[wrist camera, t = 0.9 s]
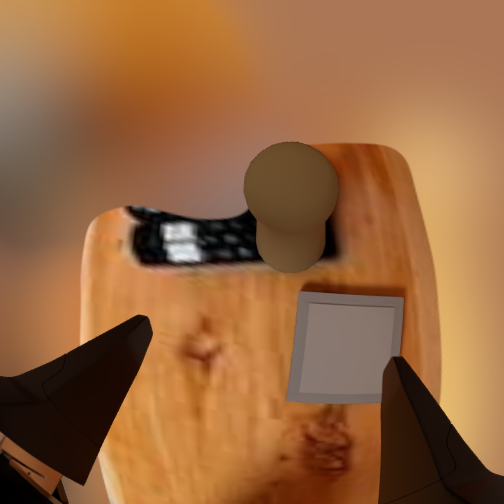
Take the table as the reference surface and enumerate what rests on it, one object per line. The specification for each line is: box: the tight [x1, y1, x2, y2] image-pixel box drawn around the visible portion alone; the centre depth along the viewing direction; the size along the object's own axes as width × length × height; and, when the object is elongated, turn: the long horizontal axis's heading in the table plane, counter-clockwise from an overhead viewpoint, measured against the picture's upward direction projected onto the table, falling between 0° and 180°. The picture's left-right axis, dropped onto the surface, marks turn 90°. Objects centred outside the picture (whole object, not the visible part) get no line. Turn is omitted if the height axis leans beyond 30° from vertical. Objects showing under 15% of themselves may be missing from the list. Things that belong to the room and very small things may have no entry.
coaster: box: [286, 291, 404, 404], centre depth 20 cm, size 9×9×1 cm
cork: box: [244, 142, 339, 273], centre depth 18 cm, size 6×6×11 cm
